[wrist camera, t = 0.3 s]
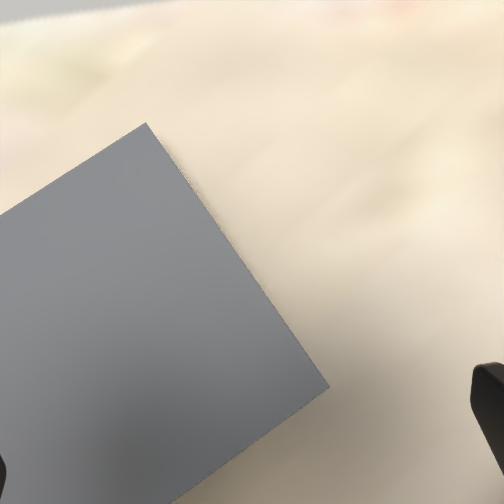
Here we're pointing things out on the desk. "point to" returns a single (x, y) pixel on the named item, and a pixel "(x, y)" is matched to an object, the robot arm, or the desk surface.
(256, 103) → the desk surface
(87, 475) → the base block
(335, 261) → the desk surface
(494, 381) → the robot arm
